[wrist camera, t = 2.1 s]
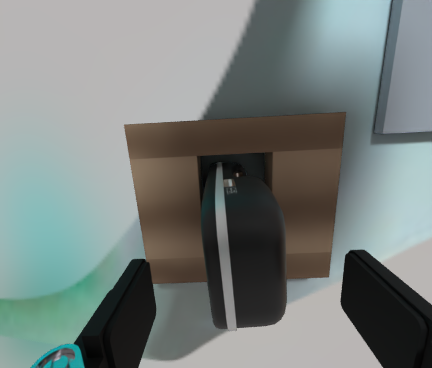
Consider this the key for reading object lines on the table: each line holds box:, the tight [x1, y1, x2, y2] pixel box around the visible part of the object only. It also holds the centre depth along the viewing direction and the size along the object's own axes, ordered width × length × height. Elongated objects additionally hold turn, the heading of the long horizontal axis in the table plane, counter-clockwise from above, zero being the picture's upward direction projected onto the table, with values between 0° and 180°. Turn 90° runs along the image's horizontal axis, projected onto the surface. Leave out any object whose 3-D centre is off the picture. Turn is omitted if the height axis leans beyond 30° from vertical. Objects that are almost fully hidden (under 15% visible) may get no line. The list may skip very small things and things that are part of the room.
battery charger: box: [201, 162, 287, 331], centre depth 14 cm, size 7×4×11 cm, turn 6°
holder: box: [124, 112, 346, 284], centre depth 18 cm, size 14×16×3 cm
